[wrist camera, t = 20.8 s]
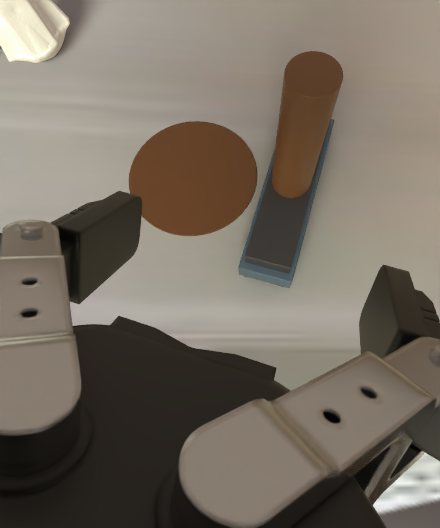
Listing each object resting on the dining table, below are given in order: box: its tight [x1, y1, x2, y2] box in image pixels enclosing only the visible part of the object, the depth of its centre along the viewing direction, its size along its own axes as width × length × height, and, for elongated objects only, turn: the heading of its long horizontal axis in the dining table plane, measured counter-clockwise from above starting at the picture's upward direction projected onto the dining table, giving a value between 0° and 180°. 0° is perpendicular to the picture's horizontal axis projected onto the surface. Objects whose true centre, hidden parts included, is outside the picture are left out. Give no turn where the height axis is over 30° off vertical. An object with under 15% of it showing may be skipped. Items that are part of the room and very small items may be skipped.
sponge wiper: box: [239, 51, 343, 288], centre depth 24 cm, size 4×13×13 cm, turn 163°
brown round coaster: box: [129, 122, 257, 236], centre depth 31 cm, size 10×10×1 cm
